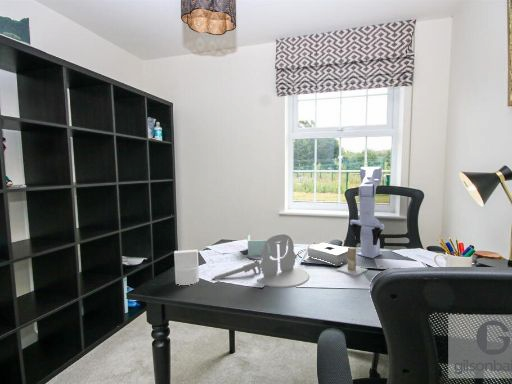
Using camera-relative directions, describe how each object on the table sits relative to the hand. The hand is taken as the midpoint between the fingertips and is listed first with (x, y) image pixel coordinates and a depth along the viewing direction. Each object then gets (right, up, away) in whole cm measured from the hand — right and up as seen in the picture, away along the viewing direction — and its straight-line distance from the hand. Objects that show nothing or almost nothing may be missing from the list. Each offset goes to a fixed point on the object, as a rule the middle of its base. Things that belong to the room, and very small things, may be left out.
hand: (366, 243), depth 120 cm
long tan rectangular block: (-8, -10, -5) cm, 14 cm away
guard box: (-13, -9, +10) cm, 19 cm away
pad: (-8, -11, -5) cm, 14 cm away
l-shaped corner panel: (-46, -9, +24) cm, 52 cm away
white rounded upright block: (-75, -13, -11) cm, 77 cm away
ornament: (-35, -12, -12) cm, 39 cm away
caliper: (-56, -13, -8) cm, 58 cm away
